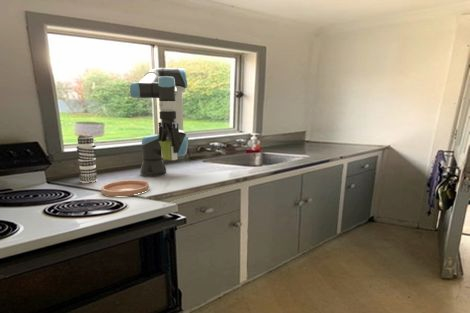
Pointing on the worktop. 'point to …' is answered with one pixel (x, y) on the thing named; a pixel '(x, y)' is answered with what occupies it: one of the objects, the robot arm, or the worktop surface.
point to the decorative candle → (87, 158)
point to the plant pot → (166, 149)
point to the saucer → (125, 188)
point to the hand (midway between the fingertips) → (169, 158)
